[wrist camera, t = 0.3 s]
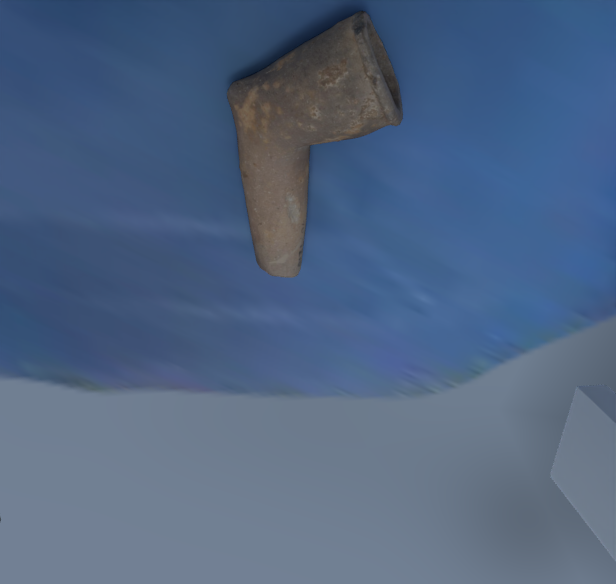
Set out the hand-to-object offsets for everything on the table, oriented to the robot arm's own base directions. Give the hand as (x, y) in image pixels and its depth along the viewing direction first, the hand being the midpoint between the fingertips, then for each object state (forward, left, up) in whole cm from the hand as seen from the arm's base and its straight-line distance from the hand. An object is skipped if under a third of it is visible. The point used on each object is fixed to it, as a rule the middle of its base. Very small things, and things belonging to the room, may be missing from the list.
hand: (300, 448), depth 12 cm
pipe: (0, +4, -26) cm, 27 cm away
